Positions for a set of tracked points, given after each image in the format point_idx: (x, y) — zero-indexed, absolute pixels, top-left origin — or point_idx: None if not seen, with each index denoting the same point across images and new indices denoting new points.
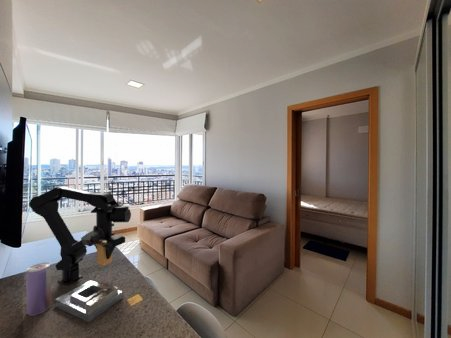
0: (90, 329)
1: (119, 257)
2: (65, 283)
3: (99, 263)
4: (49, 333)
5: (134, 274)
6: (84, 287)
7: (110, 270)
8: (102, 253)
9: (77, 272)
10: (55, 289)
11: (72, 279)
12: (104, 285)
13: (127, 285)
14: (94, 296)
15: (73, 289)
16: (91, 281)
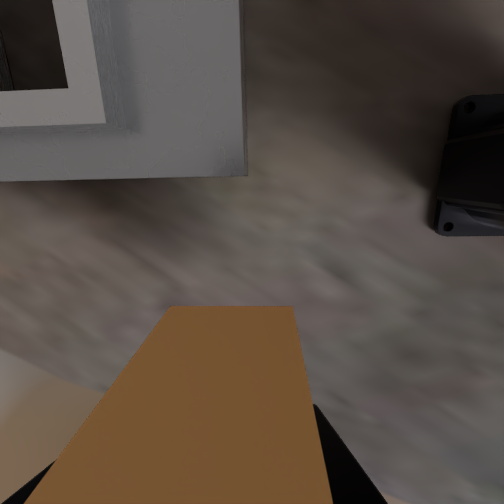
0: None
1: (401, 486)
2: (475, 96)
3: (244, 316)
4: None
5: (113, 381)
6: (86, 15)
7: (305, 360)
8: (79, 487)
9: (478, 187)
10: (487, 14)
11: (454, 141)
12: (56, 178)
13: (36, 286)
14: None
15: (236, 3)
16: (214, 168)
